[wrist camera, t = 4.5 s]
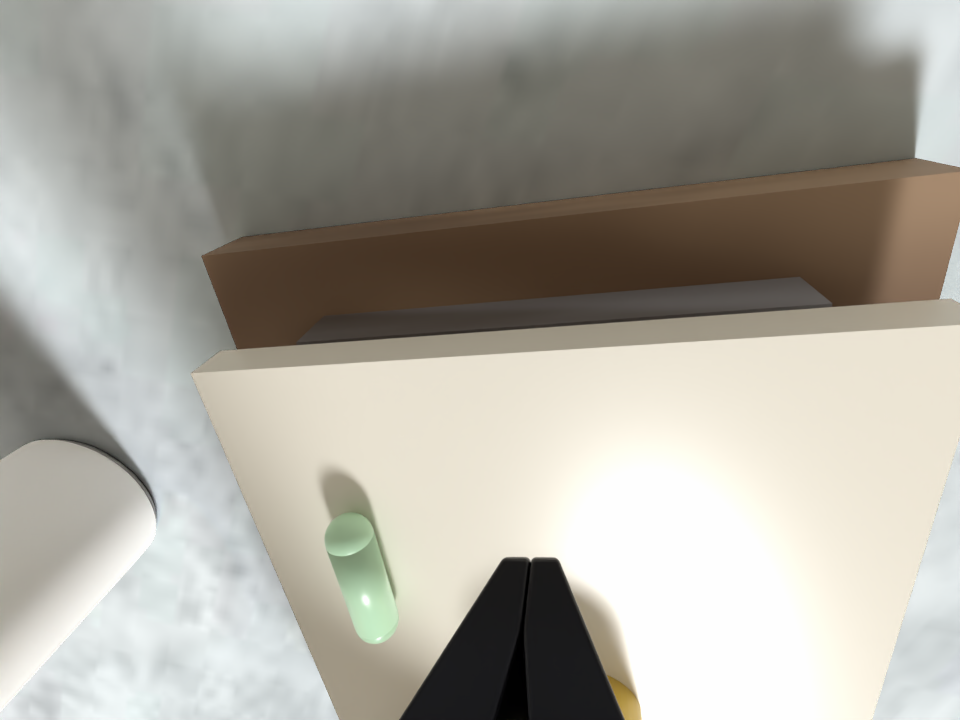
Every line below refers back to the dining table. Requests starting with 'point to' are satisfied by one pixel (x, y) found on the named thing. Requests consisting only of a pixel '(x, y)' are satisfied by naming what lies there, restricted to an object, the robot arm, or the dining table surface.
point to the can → (61, 546)
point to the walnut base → (601, 258)
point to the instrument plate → (609, 495)
